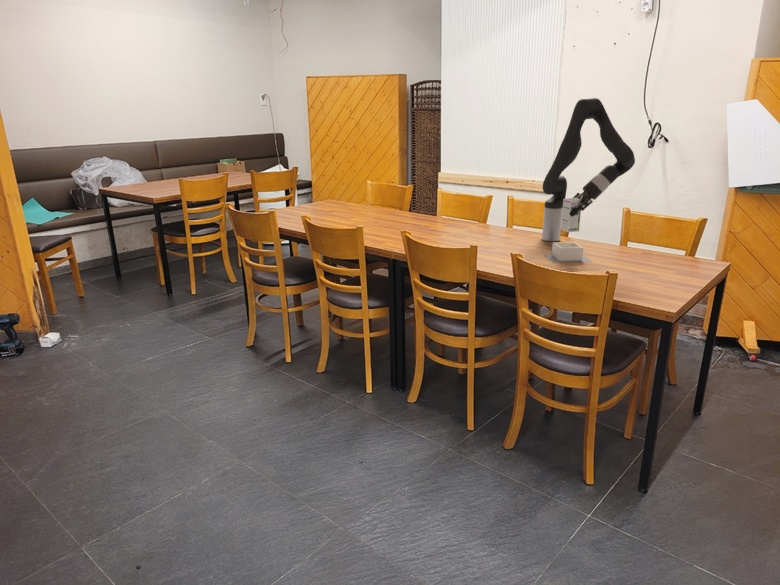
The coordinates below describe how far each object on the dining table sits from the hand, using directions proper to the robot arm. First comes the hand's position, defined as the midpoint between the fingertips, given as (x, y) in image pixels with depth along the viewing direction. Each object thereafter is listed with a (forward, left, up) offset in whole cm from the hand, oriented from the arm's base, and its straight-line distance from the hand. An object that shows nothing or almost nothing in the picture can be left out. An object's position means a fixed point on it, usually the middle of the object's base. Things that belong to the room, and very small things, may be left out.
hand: (567, 213), depth 245 cm
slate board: (0, +1, -22) cm, 22 cm away
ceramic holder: (0, +1, -20) cm, 21 cm away
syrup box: (0, +2, -8) cm, 8 cm away
